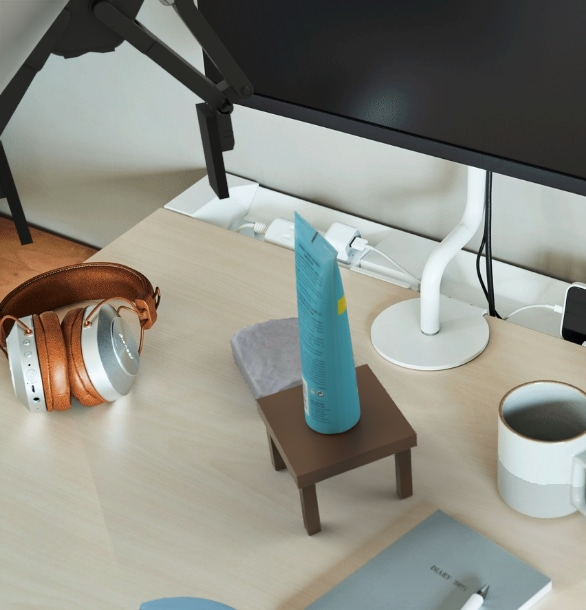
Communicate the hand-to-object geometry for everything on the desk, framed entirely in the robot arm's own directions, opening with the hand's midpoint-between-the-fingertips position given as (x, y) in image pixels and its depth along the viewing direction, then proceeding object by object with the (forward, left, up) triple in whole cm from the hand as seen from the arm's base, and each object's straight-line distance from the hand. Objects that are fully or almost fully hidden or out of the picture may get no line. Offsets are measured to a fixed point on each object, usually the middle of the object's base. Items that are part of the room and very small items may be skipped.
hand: (126, 212), depth 66 cm
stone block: (+14, +14, -31) cm, 36 cm away
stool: (+13, -3, -31) cm, 33 cm away
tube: (+13, -3, -23) cm, 26 cm away
